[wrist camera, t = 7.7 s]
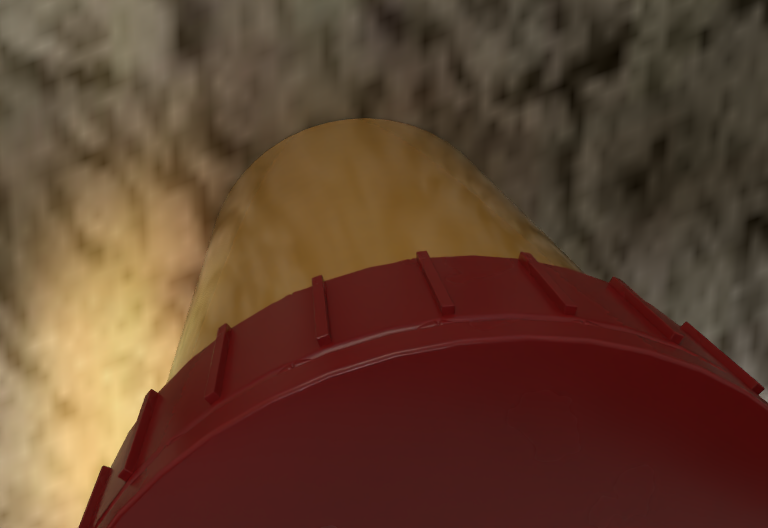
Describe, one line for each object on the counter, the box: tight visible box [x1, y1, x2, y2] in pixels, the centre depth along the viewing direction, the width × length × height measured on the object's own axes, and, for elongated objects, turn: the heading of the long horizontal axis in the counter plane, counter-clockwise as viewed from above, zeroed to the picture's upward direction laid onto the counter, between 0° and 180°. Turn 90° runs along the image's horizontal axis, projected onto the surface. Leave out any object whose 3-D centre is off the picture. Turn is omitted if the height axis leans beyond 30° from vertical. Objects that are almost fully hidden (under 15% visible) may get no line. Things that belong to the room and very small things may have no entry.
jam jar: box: [166, 118, 585, 384], centre depth 12 cm, size 7×7×11 cm
